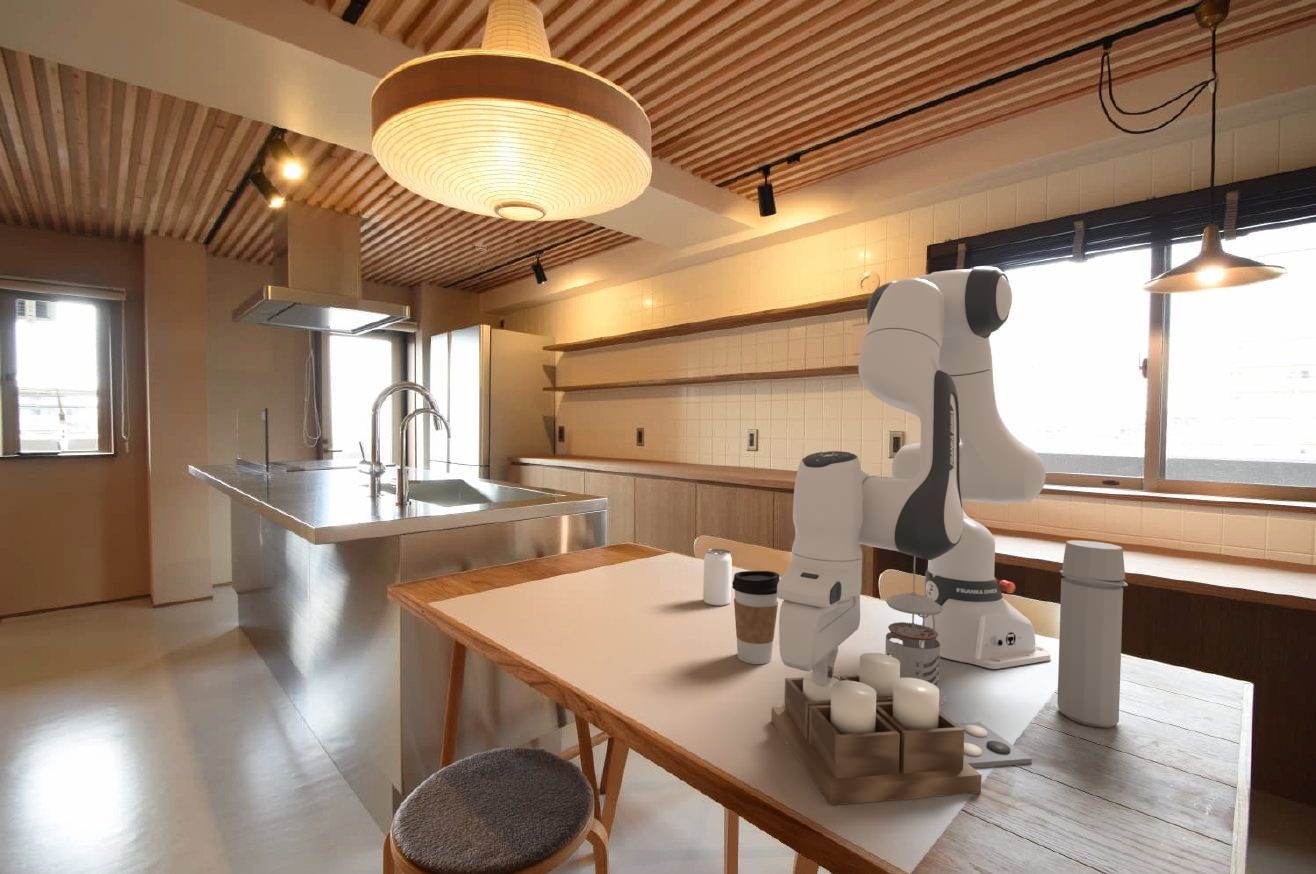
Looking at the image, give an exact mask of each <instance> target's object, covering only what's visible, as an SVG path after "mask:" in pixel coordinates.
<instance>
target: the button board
mask: <svg viewBox="0 0 1316 874" xmlns="http://www.w3.org/2000/svg"><path fill="white" fill-rule="evenodd" d="M859 675H860V674H848V675H847V674H845V675H839V677H838V676H836V675H834V676H833V677H834V678H836V679H838V680H839V681H843V680H848V681H856V682H859ZM804 677H805V676H803V677H786V678H784V703H783V704H784V706H783V705H781V706H771V719H770V720H771V724H772V725H773V726H774V727H775V728H776V730H777V731H778V733H779V735H780V736H781V737H782V739H783V740H784V742H785V743H786V744H787V746H788V747H789V748H790V750H791V751H792V753H793V754H794V755H795V757H796V759H797V760H798V761H799V763H800V765H802V767H803V768H804V770H805V771H806V773H807V774H808V775H809V778H811V780H812V781H813V782H814V783H815V785H816V787H817V788H818V789H819V791H820V792H821V793H822V795H823V796H824V798H825V800H826V801H827V802H828V804H829V805H830V806H838V805H839V806H840V805H852V804H862V803H873V802H886V801H897V800H910V799H921V798H932V797H944V796H955V795H957V796H958V795H967V794H980V793H981V794H982V773H980V772H979V771H977V770H976V769H975V768H973V767H971V766H970V765H969V764H968V763H967V762H965V761H964V760H963V758H964V729H963V728H961V727H960V726H959V725H957V724H956V723H957V722H955V721H954V720H952V719H951V718H950V717H948V716H947V715H945V714H944V713H943V712H942V711H940V710H939V720H938V729H923V730H908V731H907V730H905V729H904V728H903V727H902V726H901V725H900V724H899V723H897V722H896V721H895V720H894V719H893V718H892V717H893V697H880V698H876V726H875V733H861V734H845V735H840V734H839V733H838V731H837V730H836V729H835V728H834V727H833V726H832V725H831V724H830V719H831V700H824V701H810V700H809V699H808V698H807V697H806V696H805V695H804V694H803V679H804Z"/></svg>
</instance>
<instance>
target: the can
mask: <svg viewBox="0 0 1316 874" xmlns="http://www.w3.org/2000/svg"><path fill="white" fill-rule="evenodd" d="M705 552H706V553H705V555H704V560H703V585H702V586H703V588H702V592H703V593H702V598H703V599H702V600H703V603H705V604H706V605H708V606H714V607H723V606H724V607H725V606H728V605H730V603H731V602H732V575H733V574H732V573H733V572H732V571H733V570H732V566H733V564H732V563H733V562H732V560H733V559H732V556H731V551H730V550H727V549H722V548H710V549H707V550H706V551H705Z"/></svg>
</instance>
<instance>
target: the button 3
mask: <svg viewBox="0 0 1316 874" xmlns="http://www.w3.org/2000/svg"><path fill="white" fill-rule="evenodd" d="M858 675H859V682H860V683H863V684H866V685H868V686H870V687H872V688H873V689H874V690H875V691H876V698H880V697H893V682H894V680H896V679H898V678H900V661H899V660H897V659H896V658H894V657H892V656H891V655H885V653H880V652H867V653H866V652H865V653H862V654H861V655H860V656H859V674H858Z"/></svg>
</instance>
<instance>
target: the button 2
mask: <svg viewBox="0 0 1316 874" xmlns="http://www.w3.org/2000/svg"><path fill="white" fill-rule="evenodd" d="M830 724H831V725H832V726H833V727H834V728H835V729H836V730H837V731H838V733H839V734H840V735H845V734H861V733H875V726H876V691H875V690H874V689H873V688H872V687H870V686H868V685H866V684H863V683H860V682H856V681H848V680H843V681H837V682H834V683H833V684H832V686H831V719H830Z"/></svg>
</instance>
